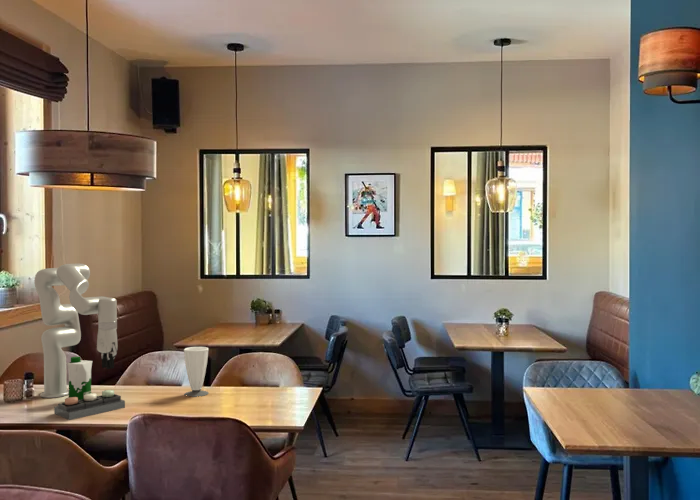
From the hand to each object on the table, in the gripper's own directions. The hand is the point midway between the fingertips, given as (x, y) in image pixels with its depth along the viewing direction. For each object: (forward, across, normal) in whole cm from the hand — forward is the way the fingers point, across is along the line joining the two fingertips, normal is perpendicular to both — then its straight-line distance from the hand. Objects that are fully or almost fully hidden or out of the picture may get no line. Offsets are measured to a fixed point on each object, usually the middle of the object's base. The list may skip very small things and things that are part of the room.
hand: (107, 367), depth 259 cm
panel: (+17, 0, -8) cm, 19 cm away
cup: (+17, +11, +38) cm, 43 cm away
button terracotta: (+12, 0, -16) cm, 20 cm away
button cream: (+12, 0, -8) cm, 15 cm away
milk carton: (+17, -18, -4) cm, 25 cm away
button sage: (+12, 0, 0) cm, 12 cm away
